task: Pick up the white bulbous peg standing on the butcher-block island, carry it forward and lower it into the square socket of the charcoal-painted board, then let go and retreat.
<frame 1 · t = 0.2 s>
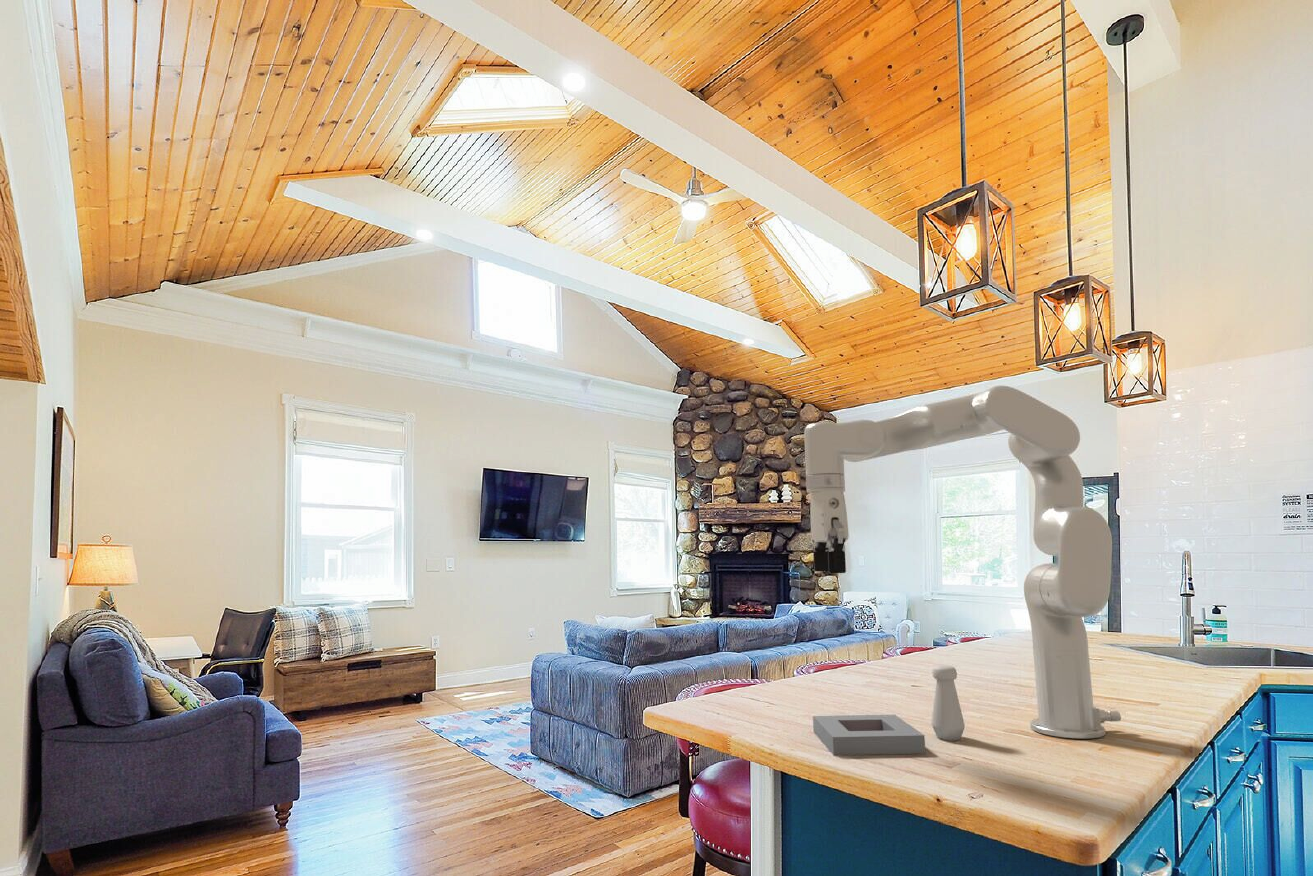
hand: (829, 572, 148), 31 cm above the table, fingers open, 9 cm apart
socket board: (866, 742, 139), on the table
white bulbous peg: (948, 739, 141), on the table
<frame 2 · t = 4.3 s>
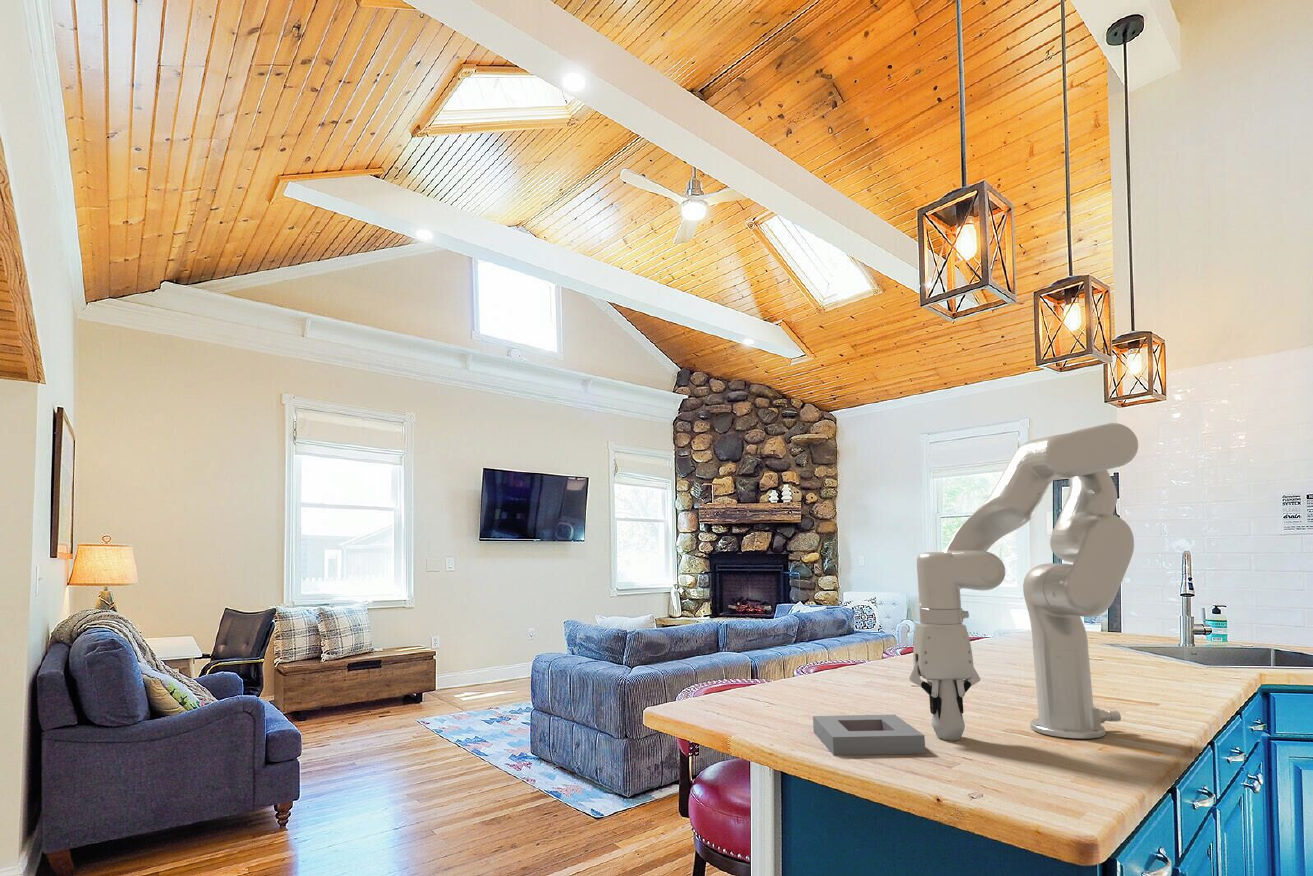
hand: (947, 717, 141), 4 cm above the table, fingers closed on white bulbous peg, 3 cm apart
white bulbous peg: (948, 739, 141), on the table, touching gripper
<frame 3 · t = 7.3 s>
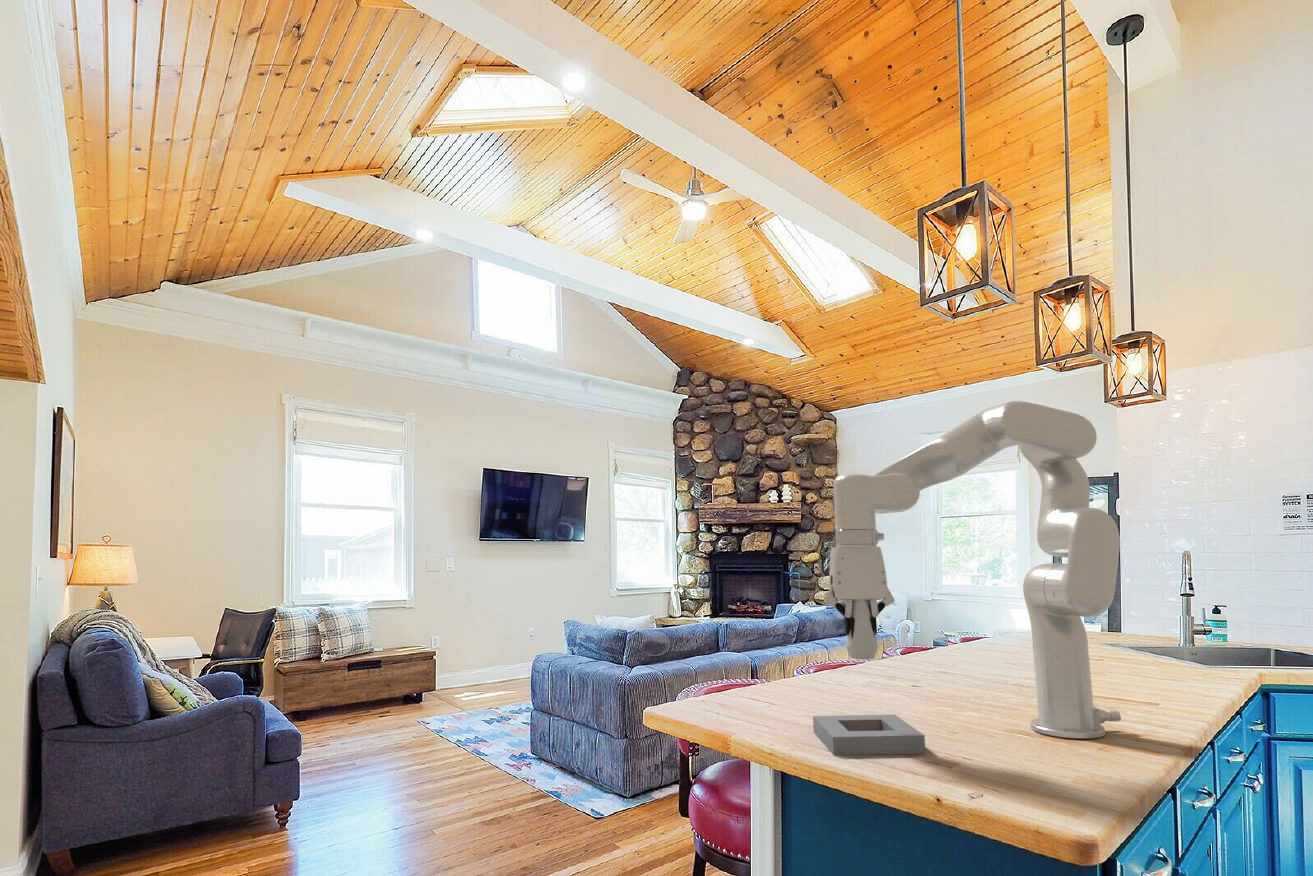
hand: (861, 637, 141), 19 cm above the table, fingers closed on white bulbous peg, 3 cm apart
white bulbous peg: (862, 659, 141), point 15 cm above the table, touching gripper
when the fingers open (5 cm above the table, at t = 10.3 s): white bulbous peg stays where it is, resting on socket board.
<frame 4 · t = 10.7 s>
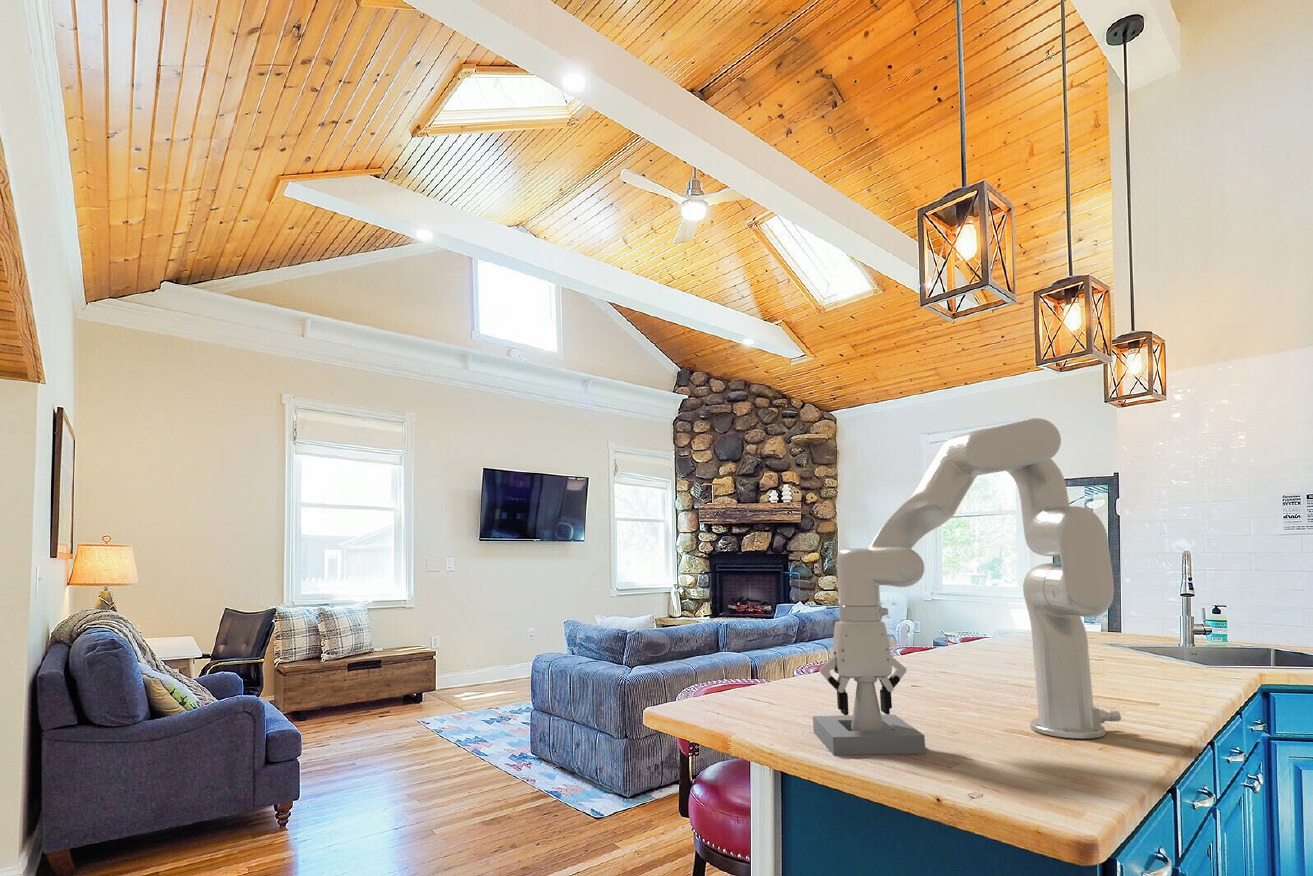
hand: (864, 712, 139), 5 cm above the table, fingers open, 7 cm apart
white bulbous peg: (867, 742, 139), resting on socket board
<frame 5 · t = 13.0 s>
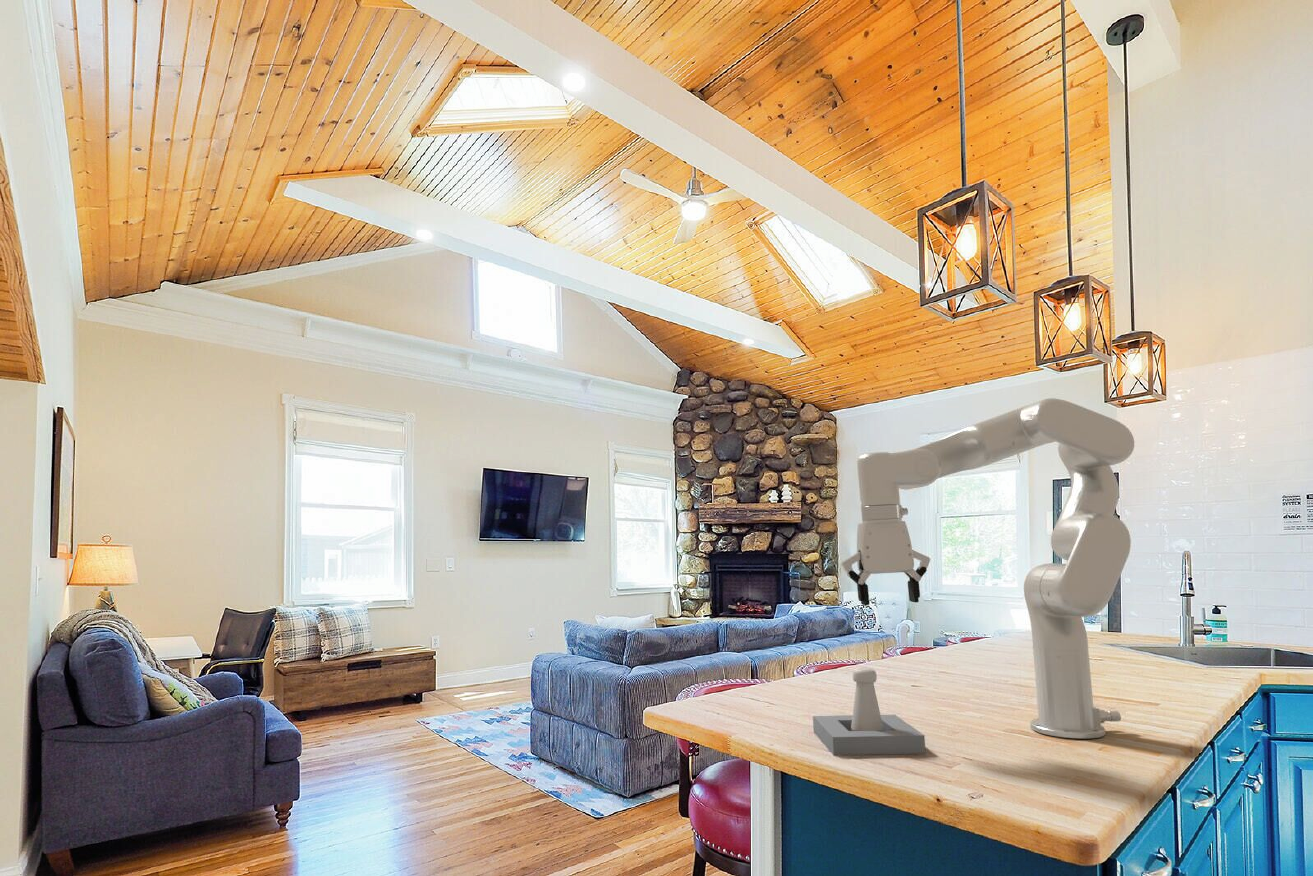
hand: (889, 603, 147), 25 cm above the table, fingers open, 9 cm apart
nothing on the table moved.
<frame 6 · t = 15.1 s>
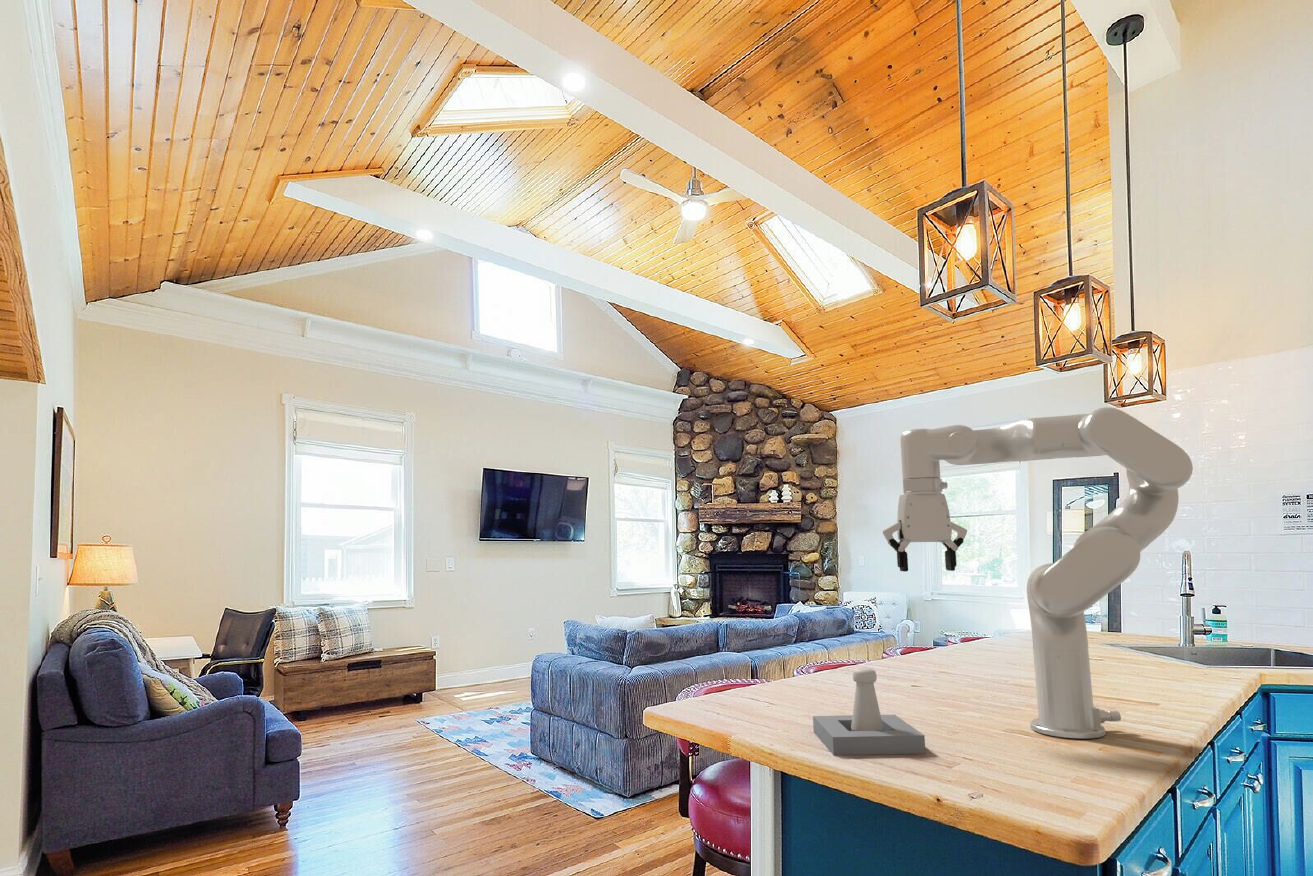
hand: (927, 570, 156), 30 cm above the table, fingers open, 9 cm apart
nothing on the table moved.
at the end: white bulbous peg 0.3 cm off-centre on the socket board, point 0.0 cm above the socket board's base; white bulbous peg tilted 0°; the gripper is holding nothing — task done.
